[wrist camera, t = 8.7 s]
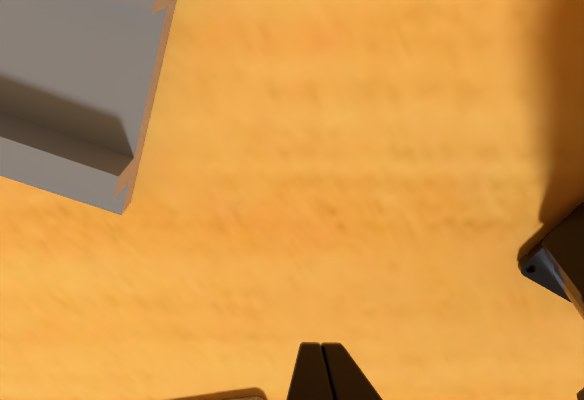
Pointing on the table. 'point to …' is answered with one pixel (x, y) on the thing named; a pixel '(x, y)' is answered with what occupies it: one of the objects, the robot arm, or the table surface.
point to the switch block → (79, 93)
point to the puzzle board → (248, 398)
